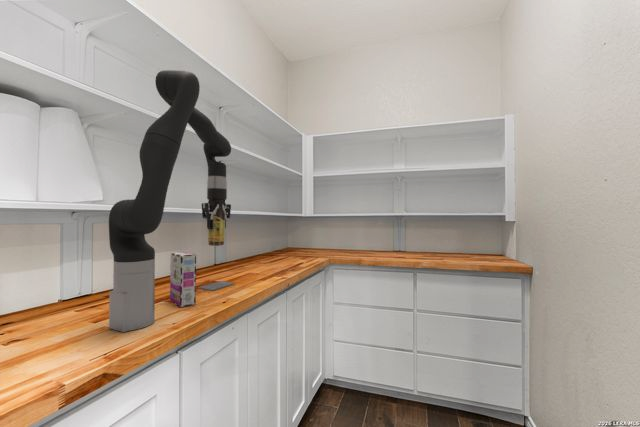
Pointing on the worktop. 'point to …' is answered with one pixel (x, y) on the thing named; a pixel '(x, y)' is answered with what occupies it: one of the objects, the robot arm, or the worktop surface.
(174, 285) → the candy bar box
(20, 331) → the worktop surface
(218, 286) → the rubber mat
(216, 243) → the sauce bottle
